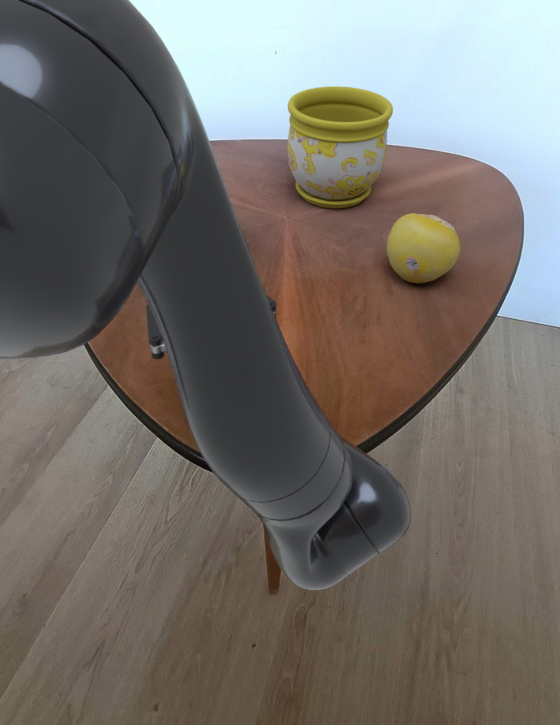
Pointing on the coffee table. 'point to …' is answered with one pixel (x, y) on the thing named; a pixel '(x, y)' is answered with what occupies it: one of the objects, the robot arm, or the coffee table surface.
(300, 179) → the flowerpot
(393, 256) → the fruit
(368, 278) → the coffee table surface
